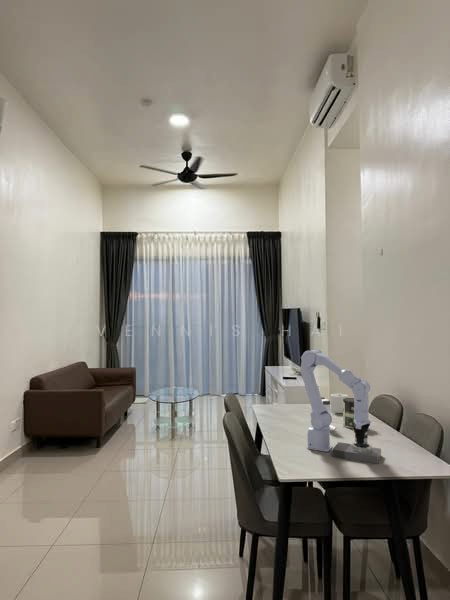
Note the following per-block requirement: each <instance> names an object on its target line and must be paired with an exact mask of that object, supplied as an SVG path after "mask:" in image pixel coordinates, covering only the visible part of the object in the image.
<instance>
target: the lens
mask: <svg viewBox="0 0 450 600" xmlns="http://www.w3.org/2000/svg"><path fill="white" fill-rule="evenodd" d="M368 433H369V432H368V431H366V432H365V436H364V443H363V444H358V443H357V438H356V434H355V433H354V443H355V446H357V447H368V444H369V443H368V442H369V441H368V440H369V439H368Z"/></svg>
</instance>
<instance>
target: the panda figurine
mask: <svg viewBox="0 0 450 600" xmlns="http://www.w3.org/2000/svg"><path fill="white" fill-rule="evenodd" d="M321 399H322V403H323V405H324V406H325V407H326V408H327V411H328V413H329V414H330V415H331V400H329V399H328V398H325V397H324V396H321ZM329 427H330V431H334V430H336V427H335V425H333V424H332V425H331V424H330V425H329Z"/></svg>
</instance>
